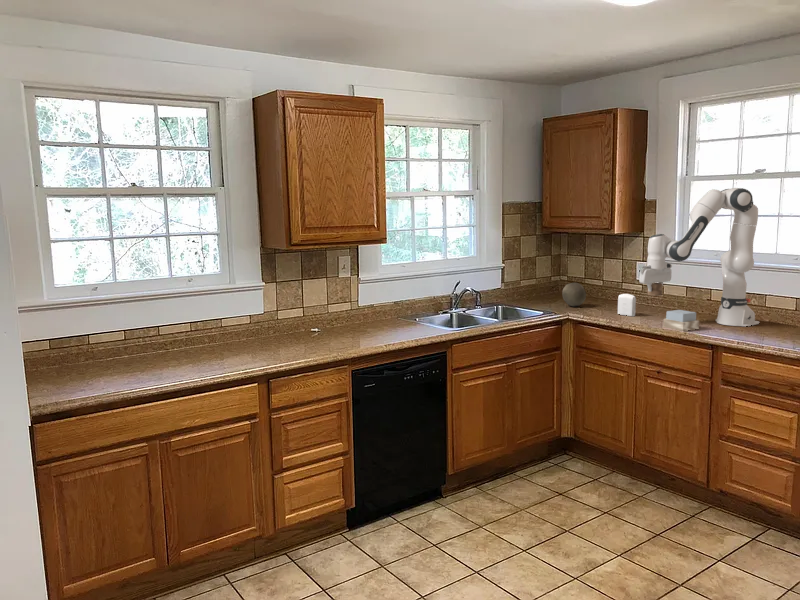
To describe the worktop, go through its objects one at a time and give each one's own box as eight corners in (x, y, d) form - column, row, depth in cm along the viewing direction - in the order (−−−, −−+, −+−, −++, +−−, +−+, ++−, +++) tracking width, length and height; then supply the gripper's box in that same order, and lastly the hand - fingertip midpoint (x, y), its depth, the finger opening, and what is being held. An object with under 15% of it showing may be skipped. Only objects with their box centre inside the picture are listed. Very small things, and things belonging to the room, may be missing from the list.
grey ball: (564, 304, 408) (565, 281, 406) (587, 305, 402) (588, 282, 400) (559, 307, 395) (560, 283, 393) (583, 309, 389) (584, 284, 387)
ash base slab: (678, 326, 338) (679, 316, 337) (698, 330, 328) (699, 320, 327) (663, 328, 333) (663, 318, 332) (682, 332, 322) (683, 322, 321)
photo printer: (616, 314, 371) (617, 293, 370) (620, 313, 374) (621, 292, 372) (632, 316, 364) (633, 295, 362) (636, 316, 366) (637, 294, 364)
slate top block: (679, 317, 336) (679, 309, 336) (695, 320, 328) (696, 312, 327) (666, 318, 332) (666, 311, 331) (682, 322, 323) (683, 314, 322)
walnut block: (654, 294, 345) (654, 283, 344) (661, 295, 340) (662, 283, 339) (647, 294, 342) (647, 283, 342) (654, 295, 338) (655, 284, 337)
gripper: (646, 266, 332) (645, 293, 334) (674, 264, 341) (672, 290, 343) (636, 265, 337) (635, 291, 339) (664, 263, 346) (663, 288, 348)
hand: (654, 291), depth 341 cm, fingers closed on walnut block, 5 cm apart
